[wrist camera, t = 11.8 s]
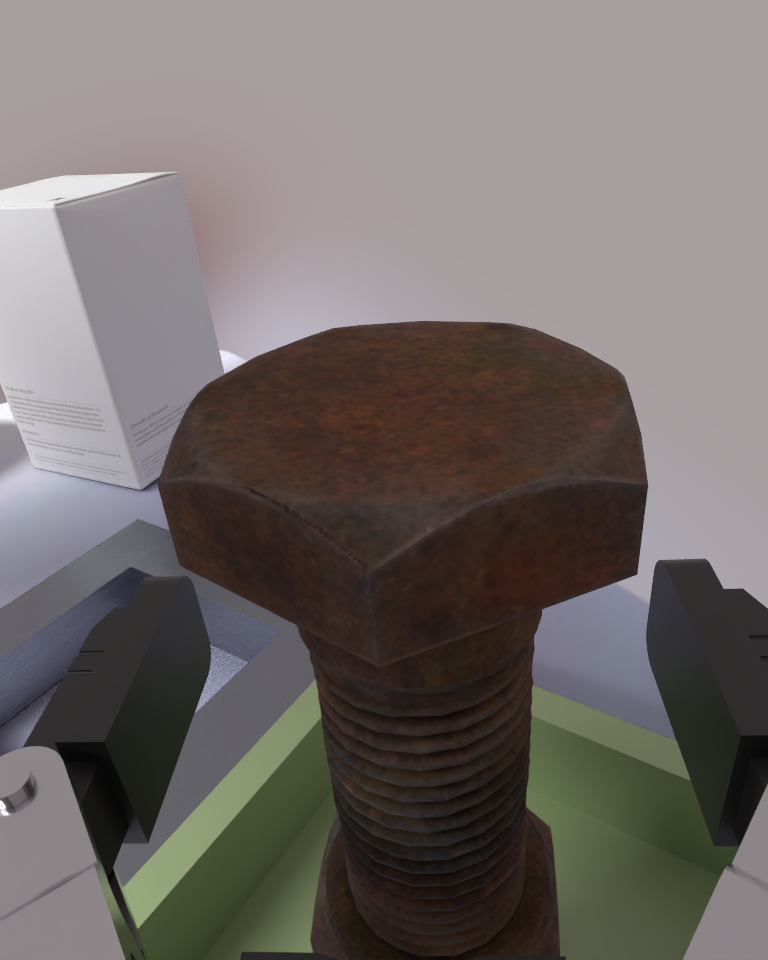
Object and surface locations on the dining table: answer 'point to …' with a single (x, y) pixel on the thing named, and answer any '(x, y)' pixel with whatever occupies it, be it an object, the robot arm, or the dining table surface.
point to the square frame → (230, 626)
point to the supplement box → (102, 322)
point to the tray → (550, 795)
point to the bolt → (418, 595)
